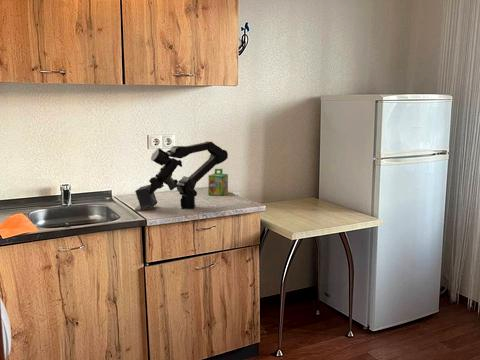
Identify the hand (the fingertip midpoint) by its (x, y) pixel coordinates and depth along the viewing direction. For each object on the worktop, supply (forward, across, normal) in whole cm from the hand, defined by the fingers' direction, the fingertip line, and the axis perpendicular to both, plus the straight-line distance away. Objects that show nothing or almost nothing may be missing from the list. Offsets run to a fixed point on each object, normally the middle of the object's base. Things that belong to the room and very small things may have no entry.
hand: (149, 194), depth 230 cm
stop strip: (+10, +4, 0) cm, 11 cm away
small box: (+6, +4, -4) cm, 8 cm away
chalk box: (-12, +41, -28) cm, 51 cm away
